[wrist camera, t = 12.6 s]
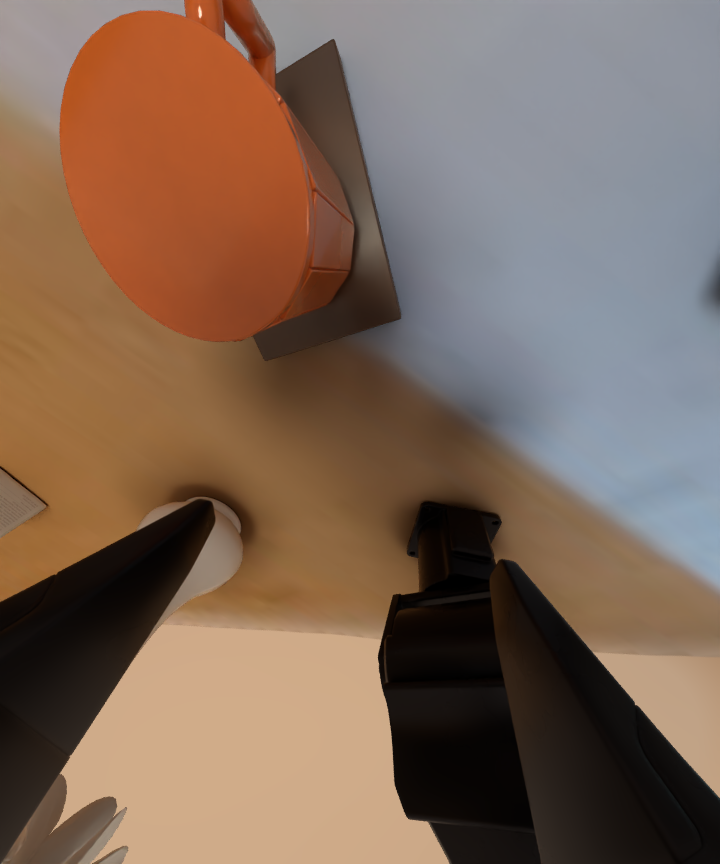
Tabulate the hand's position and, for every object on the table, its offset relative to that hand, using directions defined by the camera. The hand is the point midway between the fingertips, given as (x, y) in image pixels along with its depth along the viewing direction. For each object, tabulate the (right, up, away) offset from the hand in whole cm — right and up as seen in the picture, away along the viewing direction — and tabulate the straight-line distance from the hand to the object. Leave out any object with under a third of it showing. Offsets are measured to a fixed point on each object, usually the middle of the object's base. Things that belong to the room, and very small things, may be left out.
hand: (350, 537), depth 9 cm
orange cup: (-3, +14, +5) cm, 15 cm away
